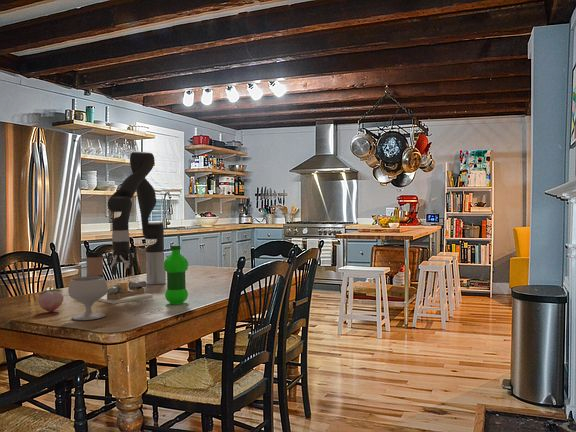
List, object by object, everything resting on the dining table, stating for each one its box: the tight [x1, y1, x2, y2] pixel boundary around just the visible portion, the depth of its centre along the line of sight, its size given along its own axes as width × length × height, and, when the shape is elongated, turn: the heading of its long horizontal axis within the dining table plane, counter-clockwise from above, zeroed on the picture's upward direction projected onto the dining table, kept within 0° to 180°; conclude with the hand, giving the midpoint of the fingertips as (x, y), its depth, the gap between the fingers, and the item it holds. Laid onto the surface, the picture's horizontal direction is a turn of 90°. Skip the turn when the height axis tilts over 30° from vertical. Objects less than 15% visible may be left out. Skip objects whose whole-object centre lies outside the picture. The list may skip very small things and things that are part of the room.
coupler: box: [116, 281, 129, 294], centre depth 239 cm, size 5×5×6 cm
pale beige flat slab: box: [97, 290, 154, 304], centre depth 239 cm, size 20×18×3 cm
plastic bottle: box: [164, 244, 189, 306], centre depth 224 cm, size 10×10×25 cm
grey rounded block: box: [106, 284, 122, 300], centre depth 231 cm, size 8×5×6 cm, turn 174°
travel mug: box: [85, 250, 104, 277], centre depth 257 cm, size 8×8×20 cm
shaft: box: [128, 280, 148, 294], centre depth 245 cm, size 8×5×6 cm, turn 139°
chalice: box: [67, 276, 109, 321], centre depth 198 cm, size 14×14×15 cm
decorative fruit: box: [38, 287, 64, 313], centre depth 210 cm, size 9×8×10 cm
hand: (121, 275), depth 239 cm, fingers open, 8 cm apart
